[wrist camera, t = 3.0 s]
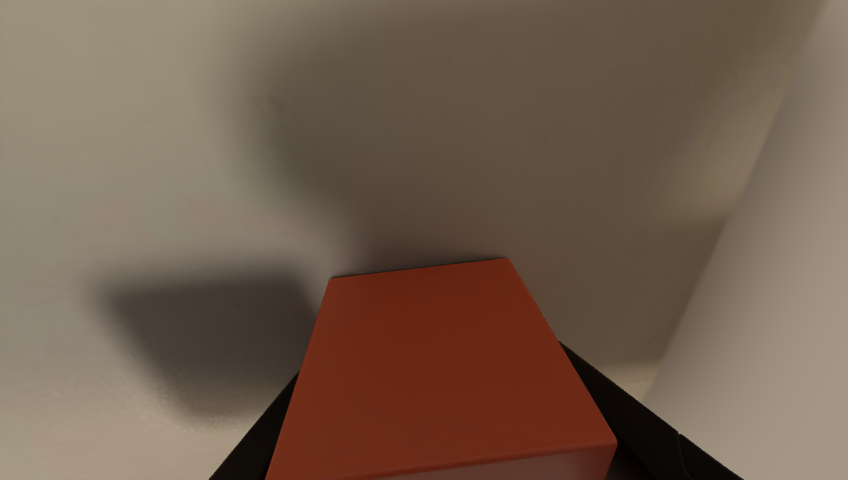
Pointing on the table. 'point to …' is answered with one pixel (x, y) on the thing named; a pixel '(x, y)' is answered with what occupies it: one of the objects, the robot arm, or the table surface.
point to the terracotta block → (438, 385)
